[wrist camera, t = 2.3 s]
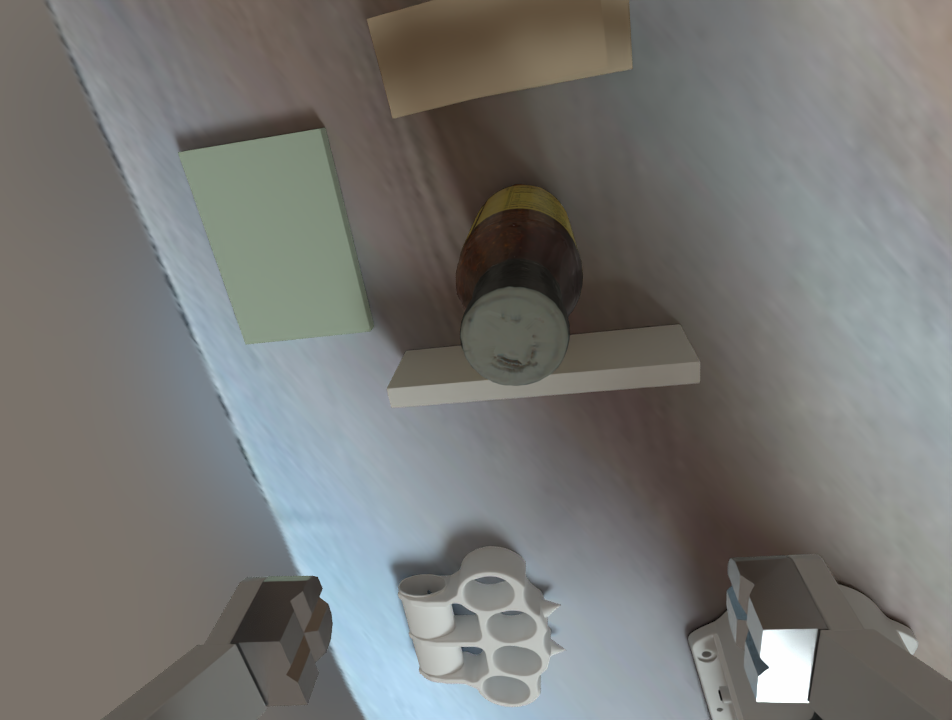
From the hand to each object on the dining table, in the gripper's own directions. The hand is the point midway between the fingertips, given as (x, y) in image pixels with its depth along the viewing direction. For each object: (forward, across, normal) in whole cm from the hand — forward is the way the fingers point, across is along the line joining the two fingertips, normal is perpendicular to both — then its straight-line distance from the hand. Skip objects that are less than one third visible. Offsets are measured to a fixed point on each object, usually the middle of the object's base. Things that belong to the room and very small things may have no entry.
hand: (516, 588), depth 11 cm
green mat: (+31, +17, -1) cm, 35 cm away
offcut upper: (+29, +1, -11) cm, 31 cm away
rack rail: (+30, 0, +9) cm, 32 cm away
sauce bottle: (+31, 0, 0) cm, 31 cm away
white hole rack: (+31, +8, +37) cm, 49 cm away
